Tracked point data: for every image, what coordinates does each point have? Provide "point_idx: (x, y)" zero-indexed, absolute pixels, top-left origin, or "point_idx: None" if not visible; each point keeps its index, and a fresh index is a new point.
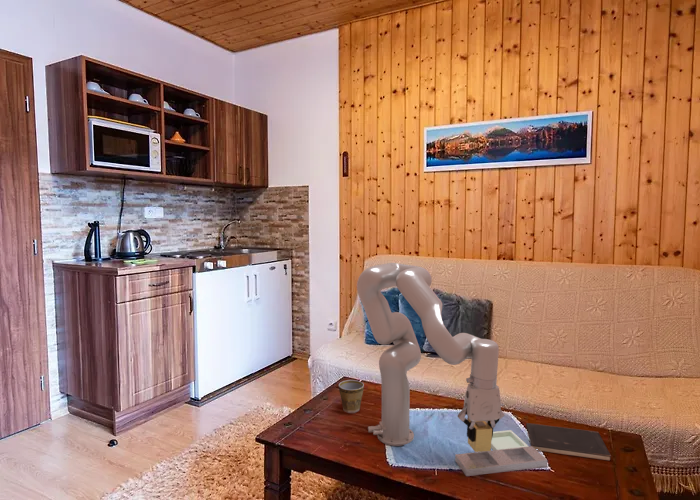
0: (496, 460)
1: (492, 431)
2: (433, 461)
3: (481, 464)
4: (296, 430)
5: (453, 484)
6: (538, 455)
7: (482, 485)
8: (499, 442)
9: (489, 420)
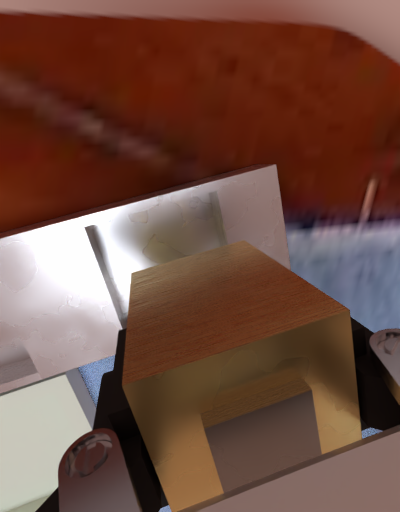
0: (91, 268)
1: (104, 402)
2: (356, 273)
3: None
4: None
5: (325, 108)
6: None
7: (196, 102)
8: (42, 458)
9: (198, 504)
